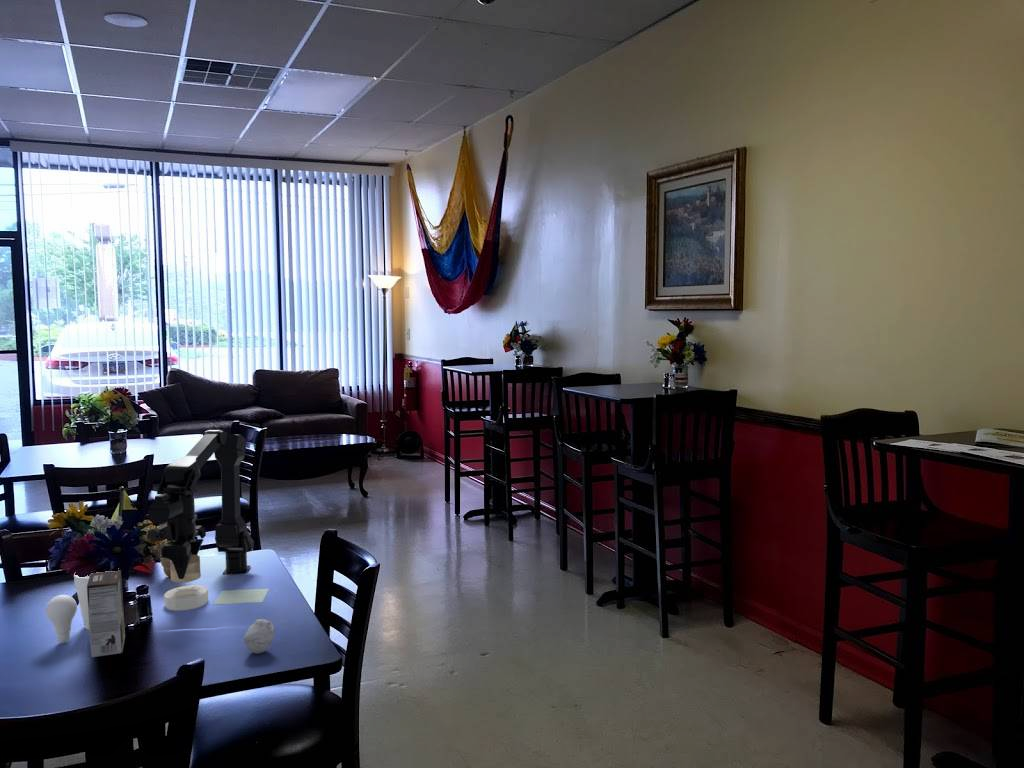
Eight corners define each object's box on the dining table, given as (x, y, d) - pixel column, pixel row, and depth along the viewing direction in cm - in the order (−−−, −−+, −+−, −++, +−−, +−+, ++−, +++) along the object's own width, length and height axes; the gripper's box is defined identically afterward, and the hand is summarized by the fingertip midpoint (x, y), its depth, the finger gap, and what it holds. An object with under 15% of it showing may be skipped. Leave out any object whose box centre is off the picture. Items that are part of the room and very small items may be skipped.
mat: (222, 592, 213) (222, 590, 213) (269, 589, 215) (269, 588, 215) (213, 605, 204) (213, 604, 203) (262, 603, 205) (262, 602, 205)
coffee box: (94, 642, 182) (90, 572, 180) (125, 637, 184) (122, 568, 183) (89, 658, 173) (85, 585, 172) (122, 653, 176) (118, 581, 174)
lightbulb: (83, 642, 182) (80, 595, 181) (53, 651, 177) (50, 602, 176) (73, 635, 186) (70, 588, 185) (44, 643, 181) (41, 595, 180)
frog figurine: (281, 648, 178) (280, 617, 177) (259, 660, 171) (258, 629, 171) (260, 643, 180) (258, 613, 180) (237, 656, 174) (236, 624, 173)
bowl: (172, 598, 209) (171, 586, 209) (212, 596, 210) (211, 584, 210) (160, 612, 199) (159, 600, 199) (202, 610, 200) (201, 598, 200)
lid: (175, 574, 207) (174, 555, 207) (203, 572, 208) (202, 553, 208) (167, 583, 200) (166, 563, 200) (196, 581, 201) (195, 562, 201)
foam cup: (108, 632, 187) (105, 578, 186) (69, 632, 187) (65, 578, 186) (128, 617, 196) (125, 565, 195) (91, 617, 197) (88, 565, 195)
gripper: (160, 505, 211) (163, 563, 212) (136, 524, 192) (139, 588, 194) (205, 504, 212) (207, 562, 214) (184, 523, 194) (187, 586, 195)
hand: (185, 574), depth 204 cm, fingers closed on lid, 7 cm apart
